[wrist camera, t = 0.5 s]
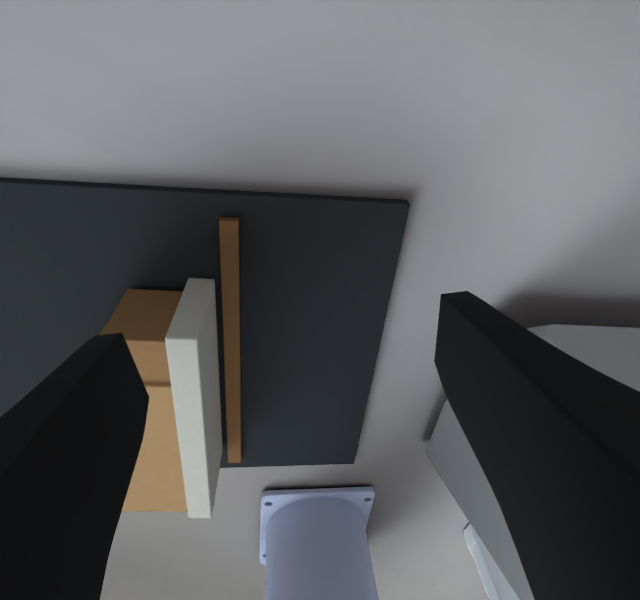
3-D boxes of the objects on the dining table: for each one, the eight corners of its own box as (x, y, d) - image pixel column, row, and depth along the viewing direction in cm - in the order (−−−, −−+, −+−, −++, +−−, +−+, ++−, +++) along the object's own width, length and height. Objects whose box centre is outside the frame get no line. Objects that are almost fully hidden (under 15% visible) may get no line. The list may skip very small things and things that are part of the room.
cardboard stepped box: (222, 448, 26) (211, 518, 23) (134, 446, 26) (107, 518, 22) (214, 278, 20) (197, 339, 16) (95, 272, 19) (49, 333, 16)
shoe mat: (352, 457, 29) (355, 469, 28) (-7, 467, 26) (-15, 481, 25) (407, 199, 19) (413, 207, 18) (-162, 168, 16) (-182, 176, 15)
